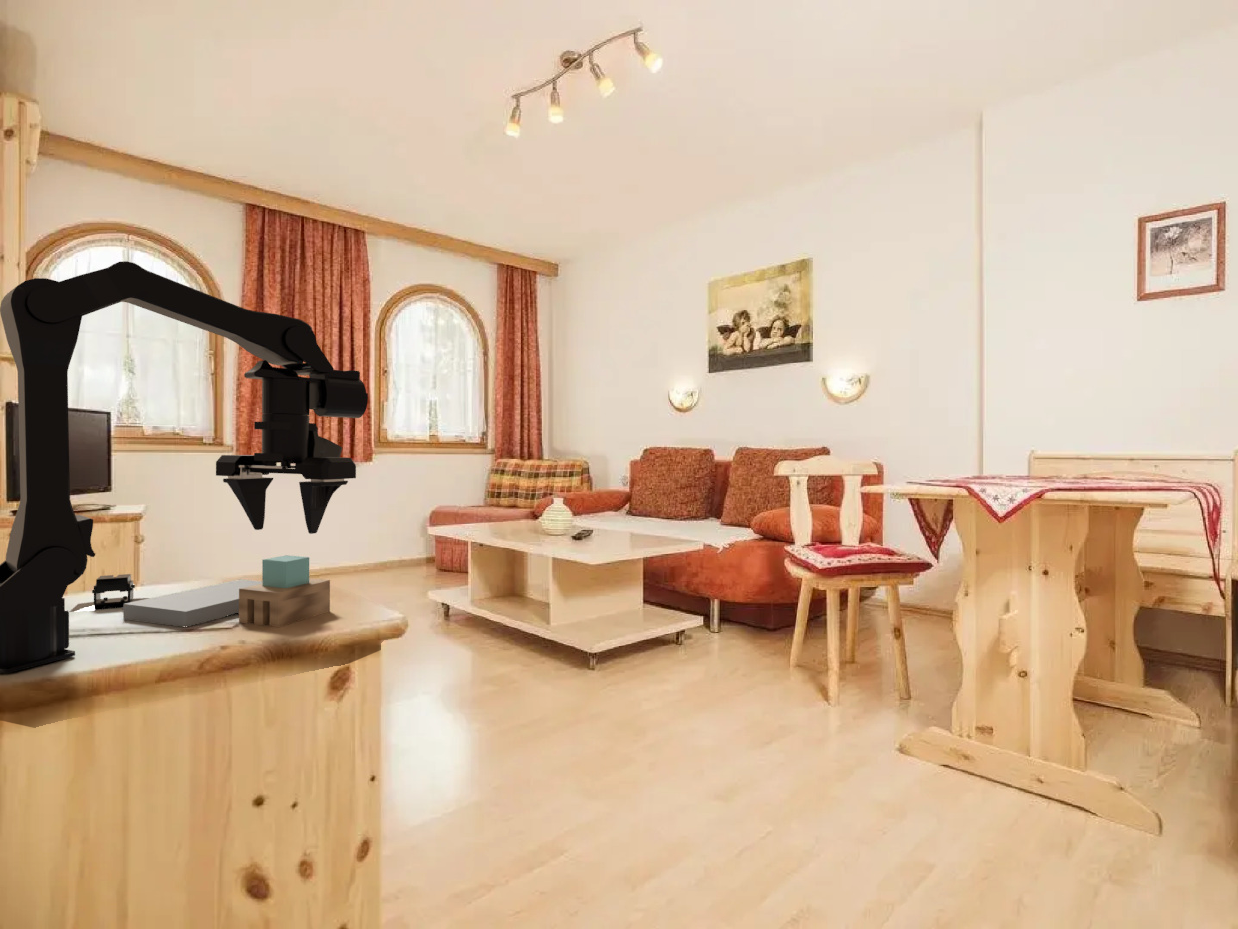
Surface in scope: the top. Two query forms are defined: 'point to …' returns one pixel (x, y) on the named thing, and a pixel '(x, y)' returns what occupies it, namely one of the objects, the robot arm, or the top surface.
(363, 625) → the top surface
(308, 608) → the wooden slotted block
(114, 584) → the black open frame block
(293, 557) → the teal cube
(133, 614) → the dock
